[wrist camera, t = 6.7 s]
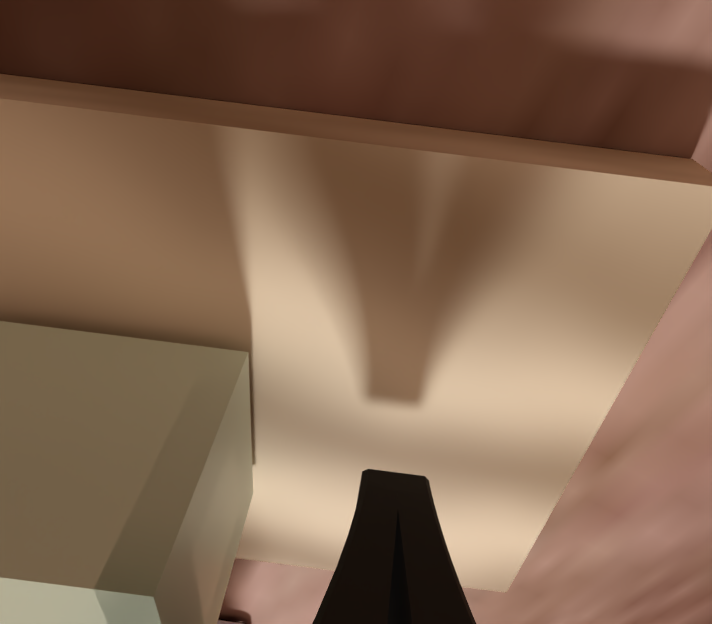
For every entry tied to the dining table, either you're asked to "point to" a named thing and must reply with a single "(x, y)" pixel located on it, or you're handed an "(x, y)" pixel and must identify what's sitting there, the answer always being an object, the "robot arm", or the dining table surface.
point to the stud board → (356, 291)
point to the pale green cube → (119, 477)
